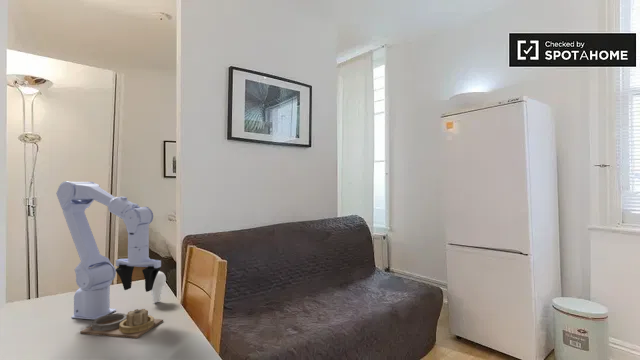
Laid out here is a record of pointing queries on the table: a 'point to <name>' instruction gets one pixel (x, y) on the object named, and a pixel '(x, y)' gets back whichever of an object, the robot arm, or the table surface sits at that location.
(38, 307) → the table surface
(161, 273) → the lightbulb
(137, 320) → the gear
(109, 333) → the gear board
